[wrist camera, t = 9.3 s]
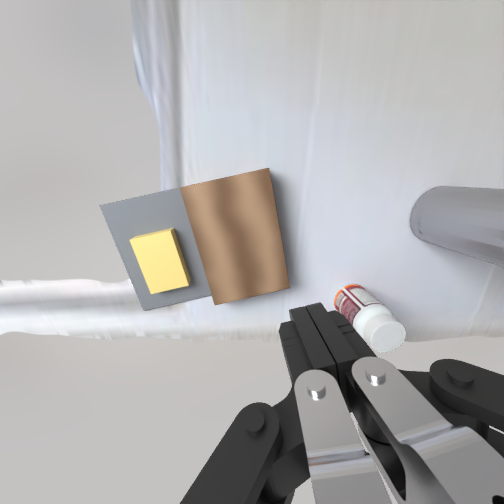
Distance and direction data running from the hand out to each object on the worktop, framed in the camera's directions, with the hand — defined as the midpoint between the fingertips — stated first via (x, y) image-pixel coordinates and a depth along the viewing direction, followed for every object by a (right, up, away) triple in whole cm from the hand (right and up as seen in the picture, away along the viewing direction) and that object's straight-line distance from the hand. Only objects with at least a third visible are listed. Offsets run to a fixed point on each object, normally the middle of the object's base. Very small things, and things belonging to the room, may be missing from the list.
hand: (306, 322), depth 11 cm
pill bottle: (+15, -5, +32) cm, 36 cm away
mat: (-17, +3, +26) cm, 31 cm away
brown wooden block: (-5, +6, +26) cm, 27 cm away
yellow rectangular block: (-16, +2, +24) cm, 29 cm away
